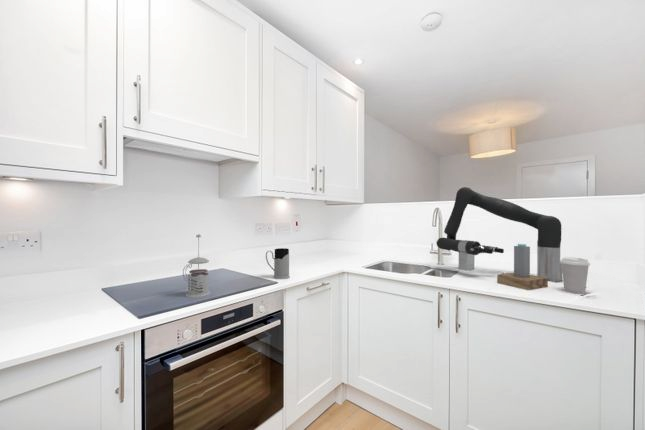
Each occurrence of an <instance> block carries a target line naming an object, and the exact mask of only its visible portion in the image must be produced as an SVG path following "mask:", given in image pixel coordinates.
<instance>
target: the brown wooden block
mask: <svg viewBox="0 0 645 430" xmlns="http://www.w3.org/2000/svg"><path fill="white" fill-rule="evenodd" d="M496 279H497V280H496V282H497V284H500V285H505V286H510V287H514V288H518V289H522V290H527V291H533V290H537V289H538V290H539V289H544V288H545V289H546V288H549V286H548V284H549V281H548V278H545V277H539V276H537V275H532V274H530V277H527V278H522V277H517V276H514V271H513V272H507V273H500V274H498V273H497V276H496Z"/></svg>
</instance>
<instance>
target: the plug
mask: <svg viewBox="0 0 645 430" xmlns="http://www.w3.org/2000/svg"><path fill="white" fill-rule="evenodd" d="M530 268H531V246H527V244H525V243H517V245H514V246H513V272H514V276H517V277H522V278H527V277H530V275H531V269H530Z"/></svg>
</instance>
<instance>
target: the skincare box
mask: <svg viewBox="0 0 645 430" xmlns="http://www.w3.org/2000/svg"><path fill="white" fill-rule="evenodd" d="M475 256H476V255H471V254H465V253H462V252H458V270H462V271H463V270H464V271H471V270H475V260H476V259H475Z"/></svg>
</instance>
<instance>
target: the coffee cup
mask: <svg viewBox="0 0 645 430" xmlns="http://www.w3.org/2000/svg"><path fill="white" fill-rule="evenodd" d="M560 263H561V264H562V283H563V290H564V291H565V292H569V293H573V294H581V295H579V297H582V296H583V297H584V296H585V294H586V290H587V283H588V281H587V280H588V274H589V266H591V263H590V262H589V261H588V259H586V258H582V257H568V256H567V257H566V256H565V257H562V258H561V259H560Z"/></svg>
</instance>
